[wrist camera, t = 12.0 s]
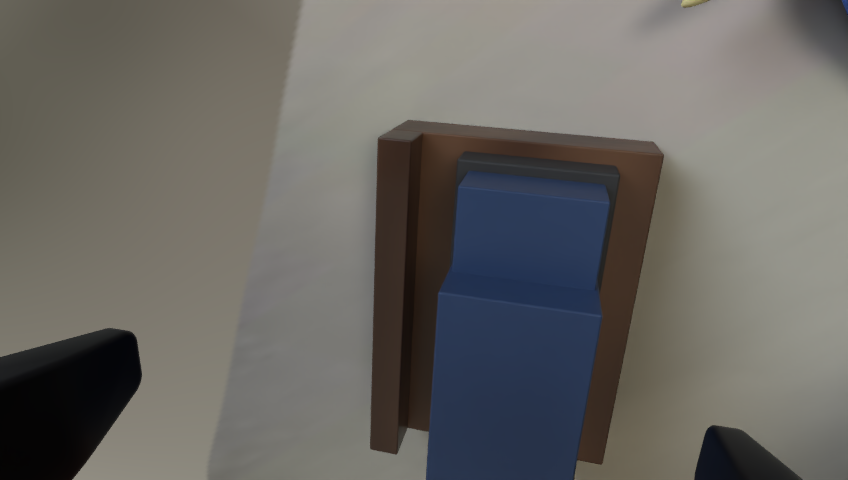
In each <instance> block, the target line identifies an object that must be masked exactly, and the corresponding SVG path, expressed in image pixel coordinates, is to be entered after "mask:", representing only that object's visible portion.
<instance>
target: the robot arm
mask: <svg viewBox="0 0 848 480" xmlns="http://www.w3.org/2000/svg"><path fill="white" fill-rule="evenodd" d="M141 377H142V371H141V364H140V357H139V351H138V344H137V339H136V337H135V335H134V334H133V333H132V332H130V331H125V330H119V329H113V328H107V329H103V330H100V331H96V332H92V333H88V334H84V335H81V336H77V337H73V338H70V339H66V340H62V341H59V342H55V343H51V344H47V345H44V346H40V347H37V348H33V349H29V350H25V351H21V352H18V353H14V354H10V355H7V356H3V357H0V480H72V479H73V478H74V477H75V476H76V474H77V473H78V472H79V471H80V469H81V468H82V467H83V466H84V464H85V463H86V462H87V460H88V459H89V458H90V456H91V455H92V453H93V452H94V451H95V449H96V448H97V446H98V445H99V444H100V442H101V441H102V439H103V438H104V436H105V435H106V434H107V432H108V431H109V429H110V428H111V427H112V425H113V424H114V422H115V421H116V419H117V418H118V417H119V415H120V414H121V412H122V411H123V409H124V408H125V407H126V405H127V404H128V402H129V401H130V399H131V398H132V397H133V395H134V394H135V392H136V391H137V389H138V387H139V385H140V382H141ZM694 480H803V479H801V478H800V477H799V476H798V475H796V474H795V473H794V472H793V471H792V470H790V469H789V468H788V467H787V466H785V465H784V464H783V463H782V462H781V461H779V460H778V459H777V458H776V457H775V456H773V455H772V454H771V453H770V452H768V451H767V450H766V449H765V448H764V447H762V446H761V445H760V444H759V443H757V442H756V441H755V440H754V439H753V438H751V437H750V436H749V435H748V434H746V433H745V432H744V431H742V430H740V429H735V428H729V427H722V426H716V425H712V426H710V427H709V428H708V429H707V431H706V433H705V436H704V440H703V444H702V448H701V452H700V455H699V459H698V463H697V467H696V471H695V479H694Z"/></svg>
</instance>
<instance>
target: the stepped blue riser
mask: <svg viewBox="0 0 848 480" xmlns="http://www.w3.org/2000/svg"><path fill="white" fill-rule="evenodd" d="M619 182H620V174H619V172H618V169H617V167H616V166H614V165H604V164H593V163H583V162H573V161H562V160H552V159H541V158H531V157H521V156H510V155H500V154H489V153H479V152H468V151H465V152H463V154H462V155H461V156H460V157H459V159H458V160H457V171H456V185H455V199H454V213H453V226H452V240H451V254H450V268H449V272H448V274H447V276H446V278H445V280H444V282H443V284H442V286H441V289H440V291H439V293H438V304H437V319H436V335H435V350H434V365H433V380H432V395H431V410H430V426H429V441H428V456H427V471H426V480H574V475H575V469H576V463H577V458H578V452H579V447H580V441H581V435H582V430H583V424H584V418H585V413H586V407H587V402H588V396H589V390H590V385H591V379H592V374H593V368H594V362H595V357H596V351H597V346H598V340H599V334H600V329H601V323H602V318H603V316H602V309H601V302H600V291H601V285H602V279H603V274H604V268H605V262H606V256H607V251H608V245H609V239H610V233H611V228H612V222H613V216H614V210H615V205H616V199H617V193H618V187H619Z"/></svg>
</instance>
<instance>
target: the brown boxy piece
mask: <svg viewBox="0 0 848 480" xmlns="http://www.w3.org/2000/svg"><path fill="white" fill-rule="evenodd" d="M465 151H468V152H479V153H489V154H500V155H510V156H521V157H531V158H541V159H552V160H562V161H573V162H583V163H593V164H604V165H614V166H616V167H617V169H618V172H619V174H620V182H619V187H618V193H617V199H616V205H615V210H614V216H613V222H612V228H611V233H610V239H609V245H608V251H607V256H606V262H605V268H604V274H603V279H602V285H601V291H600V302H601V309H602V316H603V318H602V323H601V329H600V334H599V340H598V346H597V351H596V357H595V362H594V368H593V374H592V379H591V385H590V390H589V396H588V402H587V407H586V413H585V418H584V424H583V430H582V435H581V441H580V447H579V452H578V458H577V460H580V461H585V462H590V463H596V464H602V463H603V458H604V453H605V448H606V443H607V438H608V433H609V428H610V423H611V418H612V413H613V408H614V403H615V398H616V393H617V388H618V383H619V378H620V373H621V368H622V363H623V358H624V353H625V348H626V343H627V338H628V333H629V328H630V323H631V318H632V313H633V308H634V303H635V298H636V293H637V288H638V283H639V278H640V273H641V268H642V263H643V258H644V253H645V248H646V243H647V238H648V233H649V228H650V223H651V218H652V213H653V208H654V203H655V198H656V193H657V188H658V183H659V178H660V173H661V168H662V163H663V158H664V154H663V153H662V152H661V151H660V149H659V148H658V147H657V146H656V144H655V143H654V142H649V141H637V140H626V139H615V138H604V137H593V136H581V135H570V134H559V133H548V132H537V131H525V130H514V129H503V128H492V127H480V126H469V125H458V124H447V123H436V122H424V121H413V120H407V121H406V122H404V123H402V124H401V125H399V126H397V127H395V128H394V129H392V130H391V131H389V132H387V133H386V134H384V135H382V136H380V137H379V138H378V154H377V194H376V234H375V275H374V315H373V356H372V396H371V436H370V449H372V450H377V451H382V452H387V453H392V454H397V453H398V451H399V448H400V446H401V443H402V441H403V438H404V435H405V433H406V430H407V428H412V429H417V430H423V431H428V432H429V426H430V410H431V395H432V380H433V365H434V350H435V335H436V319H437V304H438V293H439V291H440V289H441V286H442V284H443V282H444V280H445V278H446V276H447V274H448V272H449V268H450V254H451V240H452V226H453V213H454V199H455V185H456V171H457V160H458V159H459V157H460V156H461V155H462V154H463V152H465Z"/></svg>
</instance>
